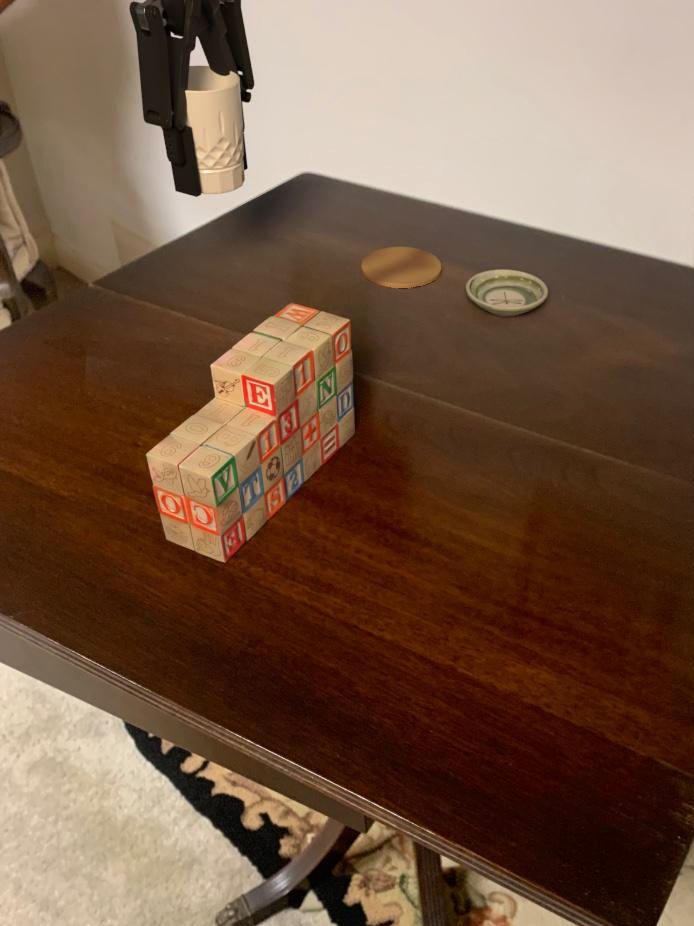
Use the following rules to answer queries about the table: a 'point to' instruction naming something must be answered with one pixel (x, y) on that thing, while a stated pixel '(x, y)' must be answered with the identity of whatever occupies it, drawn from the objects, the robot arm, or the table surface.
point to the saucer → (506, 291)
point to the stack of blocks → (257, 431)
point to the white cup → (216, 128)
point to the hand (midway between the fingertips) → (212, 179)
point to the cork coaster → (401, 267)
